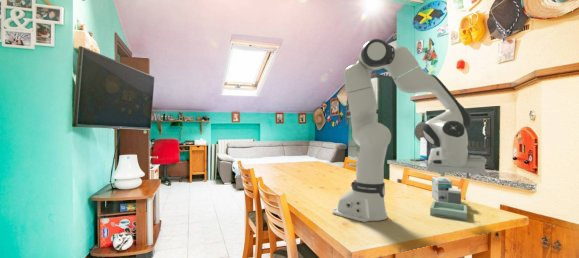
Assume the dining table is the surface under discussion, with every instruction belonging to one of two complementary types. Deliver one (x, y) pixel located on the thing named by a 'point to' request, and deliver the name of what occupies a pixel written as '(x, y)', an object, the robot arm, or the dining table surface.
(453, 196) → the gray rectangular block
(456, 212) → the tray
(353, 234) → the dining table surface
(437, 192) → the light bulb box
